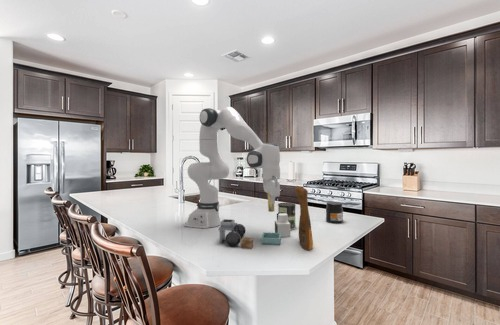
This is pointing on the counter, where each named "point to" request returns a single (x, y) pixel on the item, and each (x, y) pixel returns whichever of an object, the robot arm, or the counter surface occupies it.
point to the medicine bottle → (282, 224)
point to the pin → (270, 206)
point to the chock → (247, 242)
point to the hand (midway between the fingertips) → (271, 203)
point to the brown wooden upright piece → (304, 220)
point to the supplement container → (334, 212)
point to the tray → (271, 238)
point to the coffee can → (288, 212)
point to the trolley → (234, 235)
